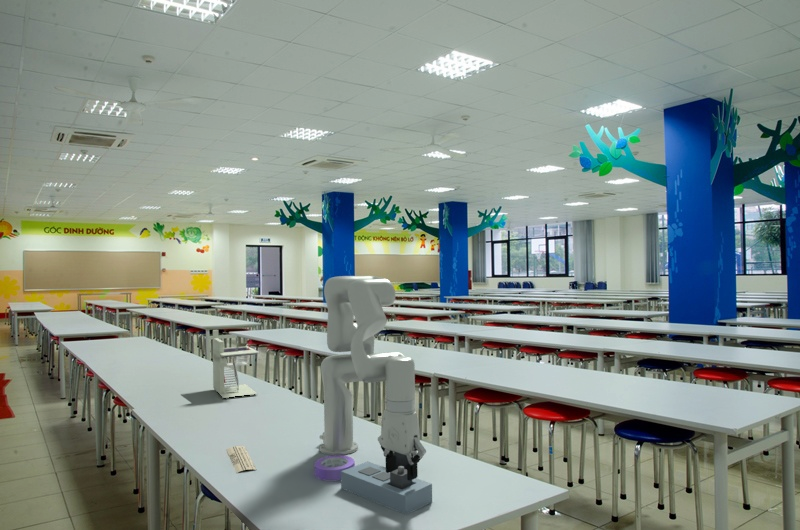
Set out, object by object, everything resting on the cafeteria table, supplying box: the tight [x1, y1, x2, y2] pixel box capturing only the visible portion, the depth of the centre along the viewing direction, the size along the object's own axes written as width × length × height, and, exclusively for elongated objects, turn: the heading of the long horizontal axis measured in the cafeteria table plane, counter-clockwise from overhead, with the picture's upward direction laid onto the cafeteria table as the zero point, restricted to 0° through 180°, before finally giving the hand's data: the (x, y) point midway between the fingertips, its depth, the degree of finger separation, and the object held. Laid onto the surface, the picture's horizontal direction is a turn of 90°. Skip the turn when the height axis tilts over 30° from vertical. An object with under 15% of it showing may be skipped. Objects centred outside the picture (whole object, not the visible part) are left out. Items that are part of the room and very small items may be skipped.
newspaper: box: [226, 445, 257, 474], centre depth 169 cm, size 24×7×2 cm, turn 25°
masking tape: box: [314, 455, 356, 482], centre depth 156 cm, size 12×12×4 cm
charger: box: [390, 466, 412, 489], centre depth 136 cm, size 4×4×9 cm
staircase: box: [212, 329, 260, 399], centre depth 269 cm, size 28×18×30 cm, turn 29°
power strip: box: [340, 461, 433, 516], centre depth 142 cm, size 28×10×5 cm, turn 47°
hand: (401, 474), depth 136 cm, fingers open, 7 cm apart
